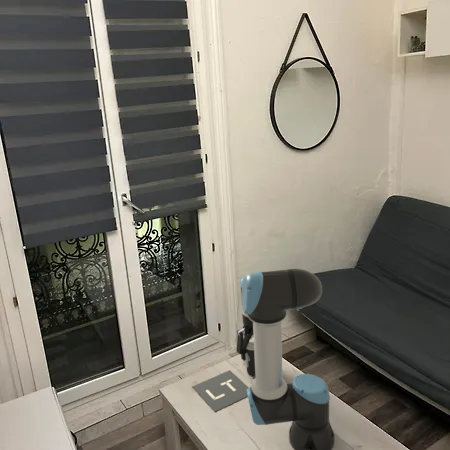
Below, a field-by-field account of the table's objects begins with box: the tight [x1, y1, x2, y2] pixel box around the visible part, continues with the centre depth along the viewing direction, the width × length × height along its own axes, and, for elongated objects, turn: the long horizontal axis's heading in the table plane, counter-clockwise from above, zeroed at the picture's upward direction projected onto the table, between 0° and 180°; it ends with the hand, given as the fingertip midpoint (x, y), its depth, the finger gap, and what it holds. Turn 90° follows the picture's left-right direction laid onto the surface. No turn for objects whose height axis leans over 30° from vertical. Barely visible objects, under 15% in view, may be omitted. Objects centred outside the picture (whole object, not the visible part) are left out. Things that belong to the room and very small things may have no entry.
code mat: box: [192, 369, 250, 413], centre depth 189 cm, size 18×18×1 cm
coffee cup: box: [246, 335, 255, 376], centre depth 196 cm, size 10×10×15 cm
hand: (254, 361), depth 197 cm, fingers closed on coffee cup, 8 cm apart
